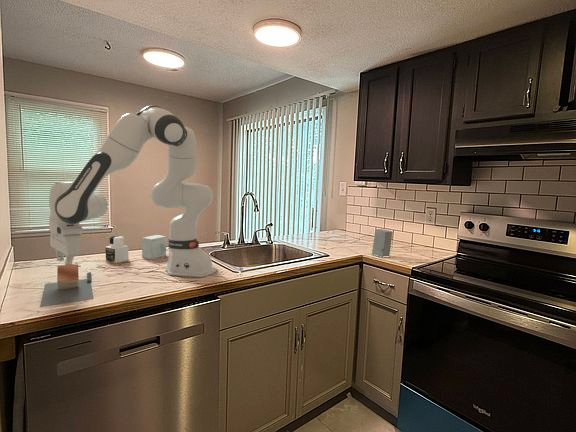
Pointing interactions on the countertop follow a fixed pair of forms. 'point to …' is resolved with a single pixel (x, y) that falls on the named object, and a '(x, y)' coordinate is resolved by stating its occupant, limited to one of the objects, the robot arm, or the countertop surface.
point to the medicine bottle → (117, 250)
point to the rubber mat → (66, 293)
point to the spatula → (89, 265)
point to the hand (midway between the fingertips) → (64, 263)
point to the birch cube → (67, 276)
